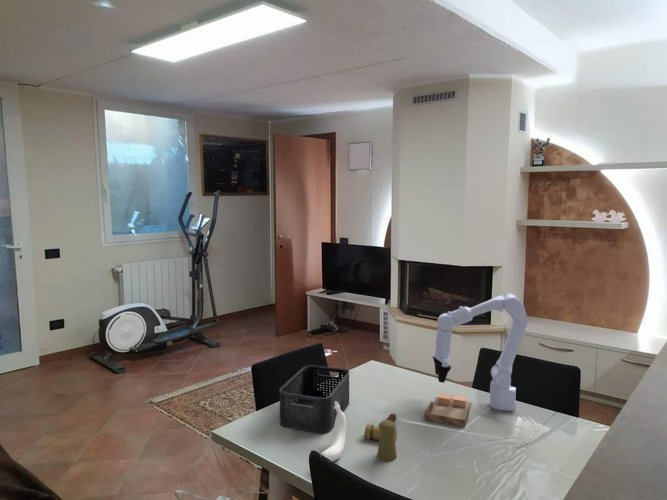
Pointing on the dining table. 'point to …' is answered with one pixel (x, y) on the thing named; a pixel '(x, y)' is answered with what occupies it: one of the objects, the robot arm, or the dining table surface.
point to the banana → (337, 436)
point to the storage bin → (313, 399)
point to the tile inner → (460, 401)
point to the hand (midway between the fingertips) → (439, 378)
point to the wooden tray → (448, 413)
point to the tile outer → (445, 399)
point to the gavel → (374, 432)
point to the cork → (387, 441)
